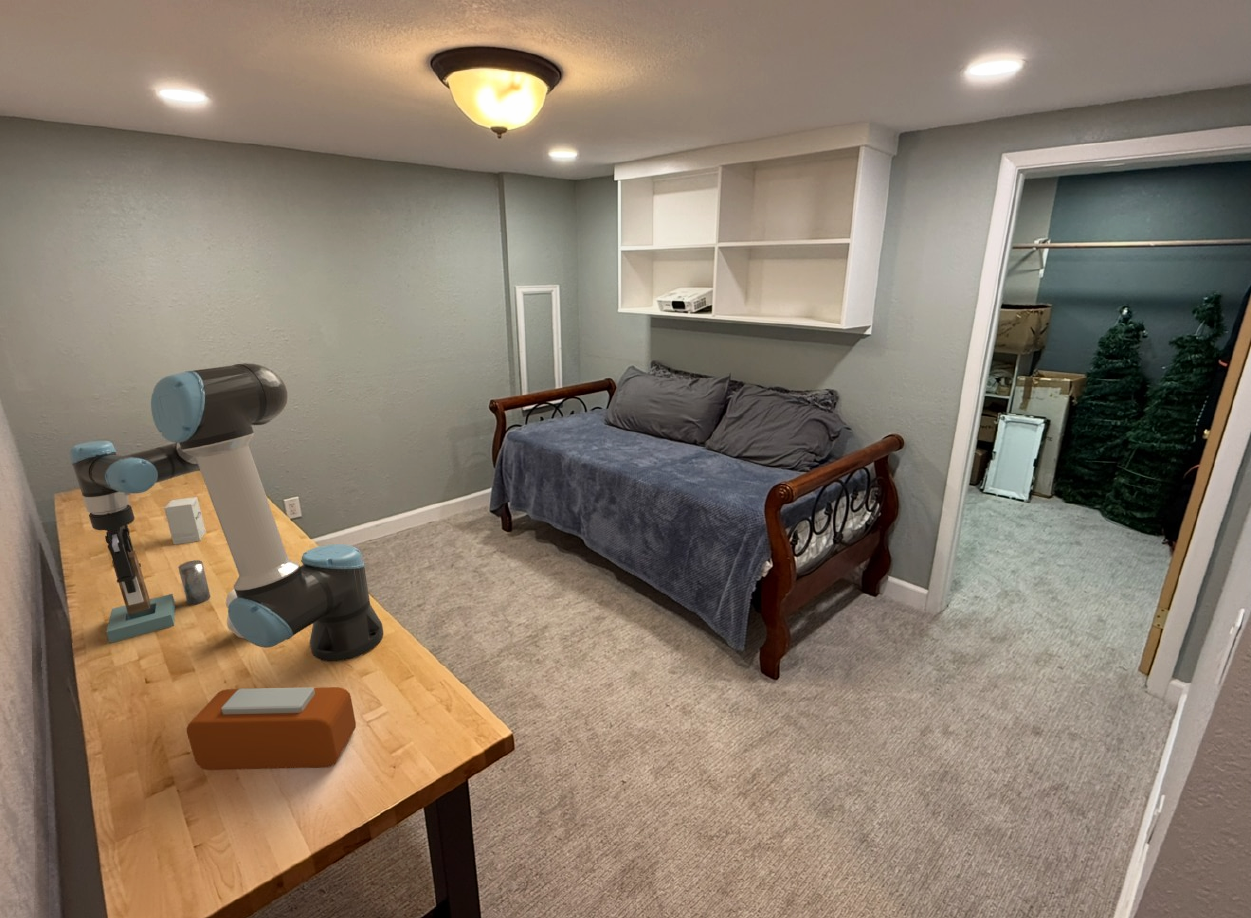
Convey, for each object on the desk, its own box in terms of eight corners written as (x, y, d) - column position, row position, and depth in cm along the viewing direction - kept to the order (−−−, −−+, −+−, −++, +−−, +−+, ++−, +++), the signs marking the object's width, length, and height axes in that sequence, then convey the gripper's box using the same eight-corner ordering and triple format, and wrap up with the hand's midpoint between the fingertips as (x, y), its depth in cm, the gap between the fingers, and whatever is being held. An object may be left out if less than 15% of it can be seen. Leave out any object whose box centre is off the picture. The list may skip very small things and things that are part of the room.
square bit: (149, 609, 142) (134, 556, 138) (128, 614, 140) (111, 561, 136) (150, 601, 145) (135, 550, 141) (129, 607, 143) (113, 555, 139)
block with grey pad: (358, 731, 109) (348, 680, 105) (338, 768, 101) (326, 713, 97) (227, 734, 109) (213, 682, 105) (196, 771, 101) (180, 716, 97)
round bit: (211, 599, 154) (203, 565, 150) (188, 606, 150) (179, 571, 147) (208, 592, 157) (200, 558, 154) (186, 598, 154) (177, 564, 151)
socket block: (174, 625, 142) (171, 614, 142) (109, 643, 136) (106, 631, 135) (175, 603, 152) (172, 593, 151) (115, 619, 145) (111, 608, 144)
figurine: (228, 643, 135) (216, 597, 132) (239, 625, 142) (228, 580, 139) (262, 638, 137) (252, 592, 133) (272, 620, 144) (262, 576, 140)
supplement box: (200, 541, 187) (191, 504, 184) (172, 545, 185) (162, 507, 181) (206, 532, 194) (197, 496, 190) (180, 535, 191) (170, 499, 188)
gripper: (127, 516, 130) (154, 609, 137) (133, 494, 143) (158, 579, 151) (82, 525, 126) (113, 620, 133) (93, 500, 139) (120, 588, 147)
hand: (136, 598), depth 142 cm, fingers closed on square bit, 4 cm apart
